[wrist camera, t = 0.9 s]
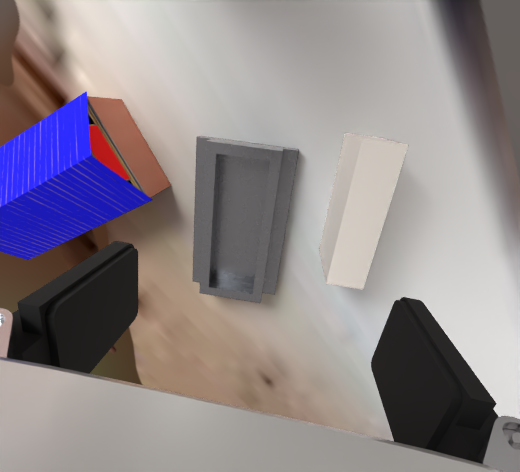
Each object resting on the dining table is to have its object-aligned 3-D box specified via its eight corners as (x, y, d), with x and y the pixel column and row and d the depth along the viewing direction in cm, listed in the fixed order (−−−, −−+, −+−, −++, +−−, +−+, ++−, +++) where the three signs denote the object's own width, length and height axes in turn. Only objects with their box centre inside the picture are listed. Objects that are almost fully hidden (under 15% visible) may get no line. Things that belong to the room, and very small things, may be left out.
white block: (344, 132, 33) (362, 138, 25) (379, 137, 33) (408, 145, 25) (318, 248, 39) (326, 283, 31) (348, 252, 39) (363, 289, 31)
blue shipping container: (175, 185, 38) (129, 214, 27) (65, 239, 43) (-10, 280, 32) (123, 95, 34) (46, 87, 24) (9, 165, 39) (-96, 184, 29)
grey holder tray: (200, 135, 35) (189, 138, 31) (298, 149, 34) (299, 153, 31) (195, 275, 43) (186, 291, 39) (275, 288, 42) (273, 305, 39)
